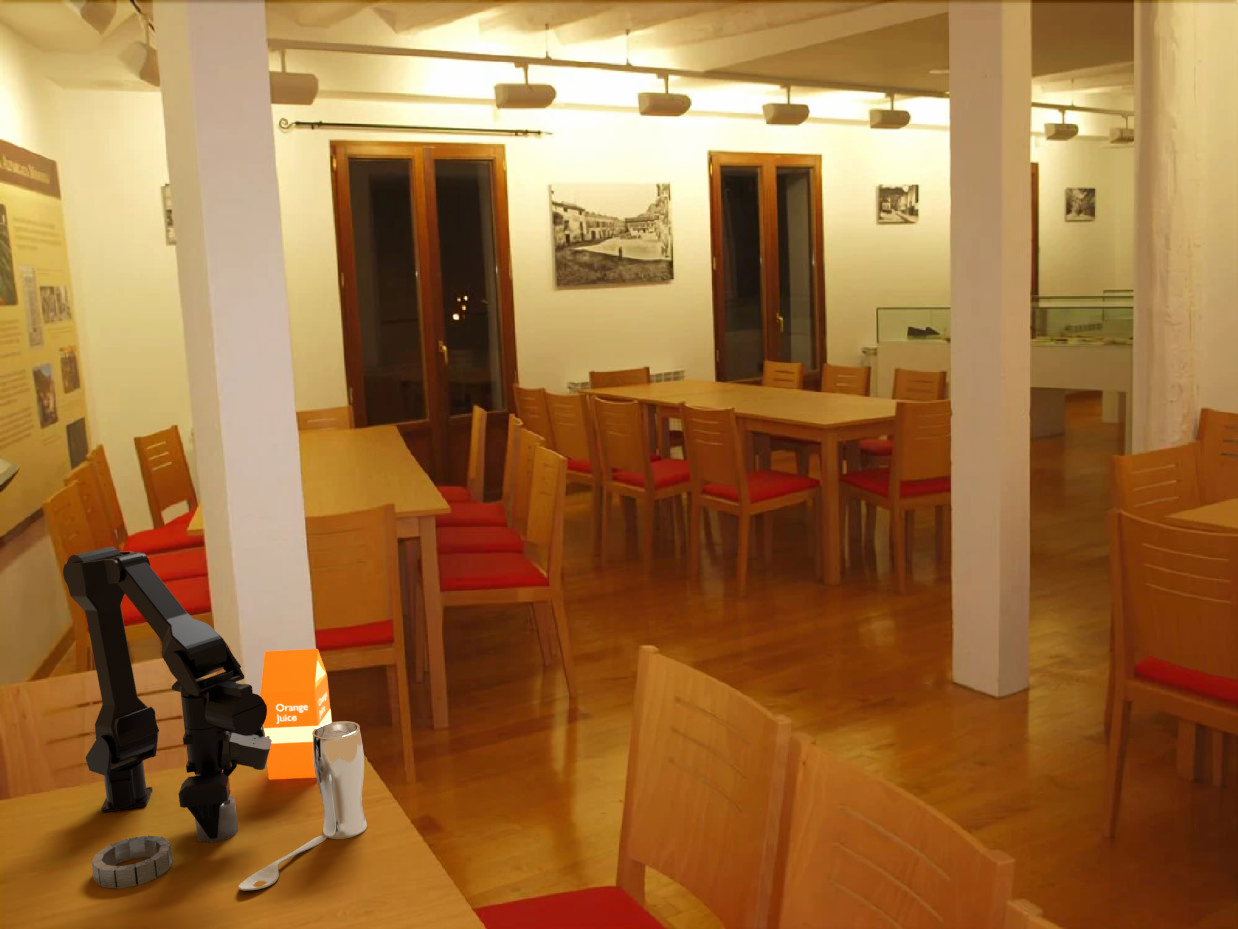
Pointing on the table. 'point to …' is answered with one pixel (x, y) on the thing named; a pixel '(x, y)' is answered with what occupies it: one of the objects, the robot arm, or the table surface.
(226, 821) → the cap
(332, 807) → the beer glass
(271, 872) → the spoon
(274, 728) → the orange juice
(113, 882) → the segmented ring
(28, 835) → the table surface
